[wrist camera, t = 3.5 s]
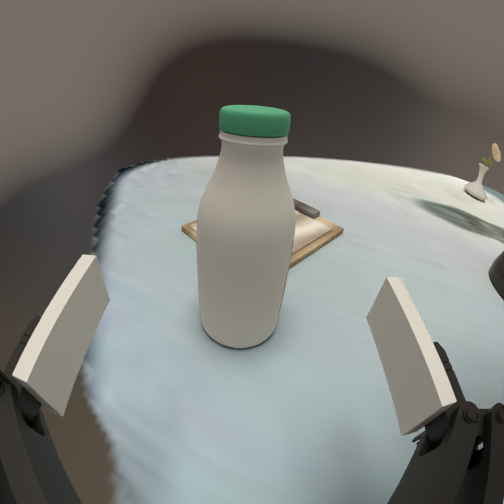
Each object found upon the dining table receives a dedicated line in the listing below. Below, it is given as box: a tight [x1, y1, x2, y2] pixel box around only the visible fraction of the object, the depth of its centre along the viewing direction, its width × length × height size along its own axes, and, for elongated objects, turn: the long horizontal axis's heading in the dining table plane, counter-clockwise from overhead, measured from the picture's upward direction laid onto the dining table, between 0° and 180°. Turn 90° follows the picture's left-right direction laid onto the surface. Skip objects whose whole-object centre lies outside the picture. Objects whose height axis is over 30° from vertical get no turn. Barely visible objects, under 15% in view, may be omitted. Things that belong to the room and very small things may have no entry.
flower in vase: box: [464, 143, 501, 200], centre depth 74 cm, size 13×11×25 cm
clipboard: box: [182, 199, 344, 268], centre depth 42 cm, size 16×20×2 cm
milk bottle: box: [196, 105, 296, 348], centre depth 22 cm, size 8×8×20 cm
